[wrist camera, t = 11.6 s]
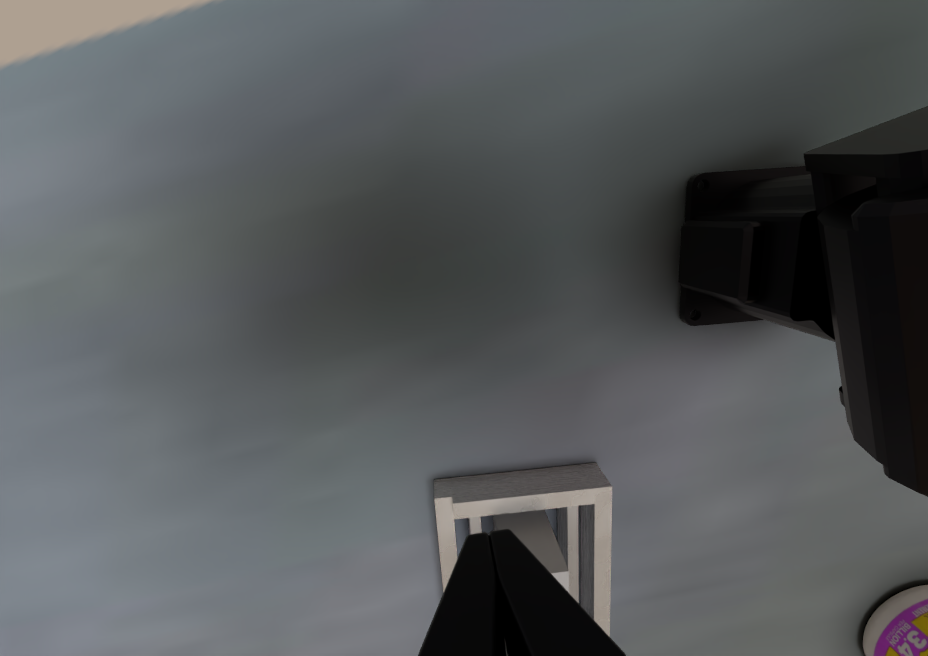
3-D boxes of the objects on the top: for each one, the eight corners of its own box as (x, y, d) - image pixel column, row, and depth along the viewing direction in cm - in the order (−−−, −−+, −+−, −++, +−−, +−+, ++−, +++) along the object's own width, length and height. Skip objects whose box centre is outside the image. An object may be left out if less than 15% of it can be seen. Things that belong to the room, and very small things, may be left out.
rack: (596, 462, 22) (615, 491, 20) (593, 756, 27) (609, 807, 25) (427, 480, 22) (427, 512, 19) (457, 776, 27) (460, 830, 24)
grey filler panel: (541, 502, 22) (568, 571, 18) (544, 598, 24) (570, 684, 20) (492, 507, 22) (507, 578, 18) (498, 604, 24) (513, 691, 20)
